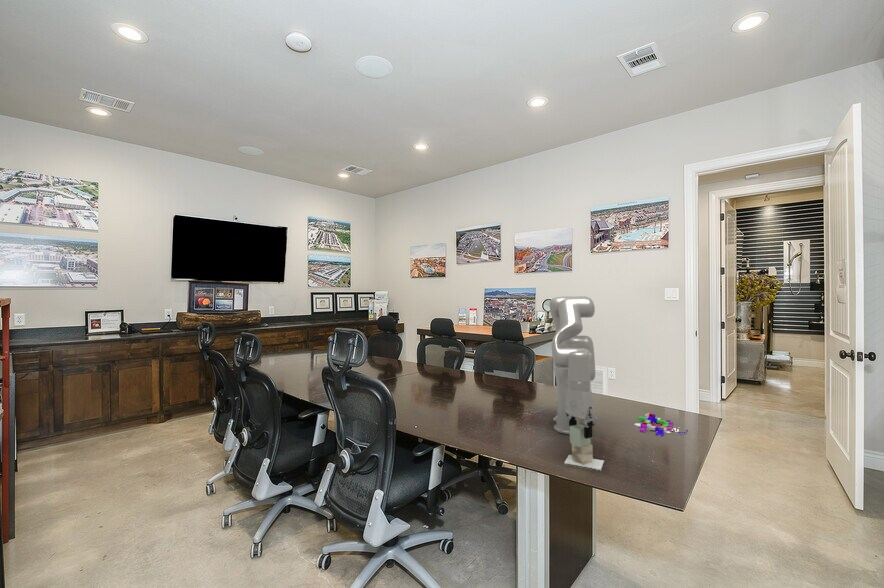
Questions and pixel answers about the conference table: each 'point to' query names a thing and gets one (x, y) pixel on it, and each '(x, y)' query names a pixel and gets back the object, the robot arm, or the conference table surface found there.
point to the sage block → (578, 436)
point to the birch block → (582, 454)
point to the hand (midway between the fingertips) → (580, 434)
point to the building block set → (649, 422)
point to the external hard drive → (594, 465)
